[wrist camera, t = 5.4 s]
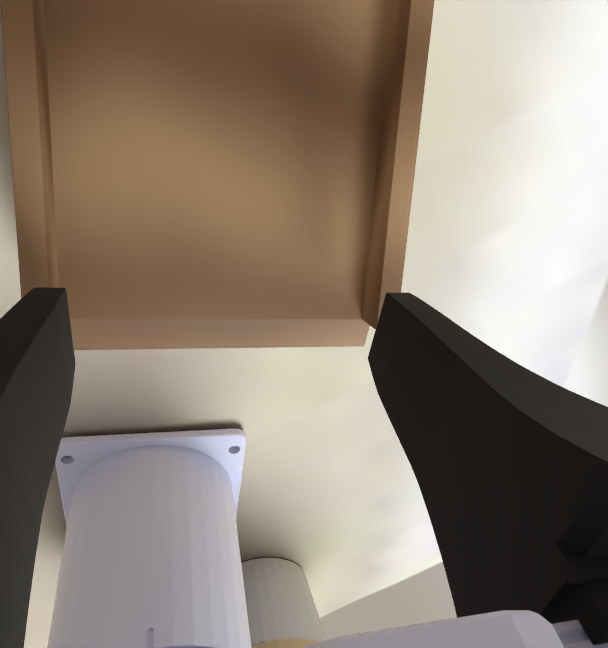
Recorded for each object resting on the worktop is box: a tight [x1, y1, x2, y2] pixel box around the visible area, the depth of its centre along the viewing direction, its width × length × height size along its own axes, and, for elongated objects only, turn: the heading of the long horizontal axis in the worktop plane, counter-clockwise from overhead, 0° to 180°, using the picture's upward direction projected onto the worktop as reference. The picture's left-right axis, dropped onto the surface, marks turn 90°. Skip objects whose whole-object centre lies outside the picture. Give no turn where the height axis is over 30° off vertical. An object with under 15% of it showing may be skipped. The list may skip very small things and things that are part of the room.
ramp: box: [0, 0, 434, 350], centre depth 14 cm, size 14×10×7 cm
